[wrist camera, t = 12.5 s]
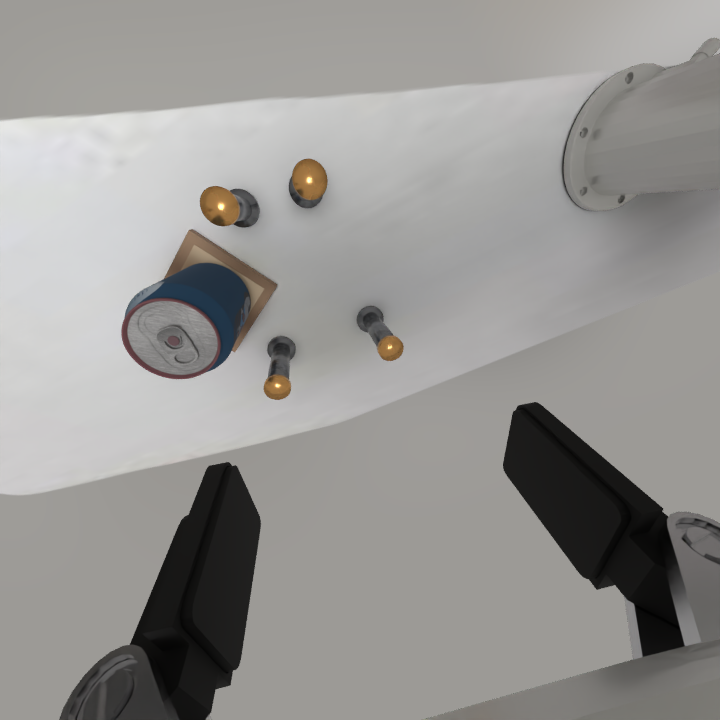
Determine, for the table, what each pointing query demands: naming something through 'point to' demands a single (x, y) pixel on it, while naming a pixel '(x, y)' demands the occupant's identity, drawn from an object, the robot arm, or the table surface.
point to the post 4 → (380, 333)
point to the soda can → (186, 321)
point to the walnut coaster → (208, 252)
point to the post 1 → (229, 207)
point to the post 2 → (279, 368)
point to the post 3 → (308, 183)
